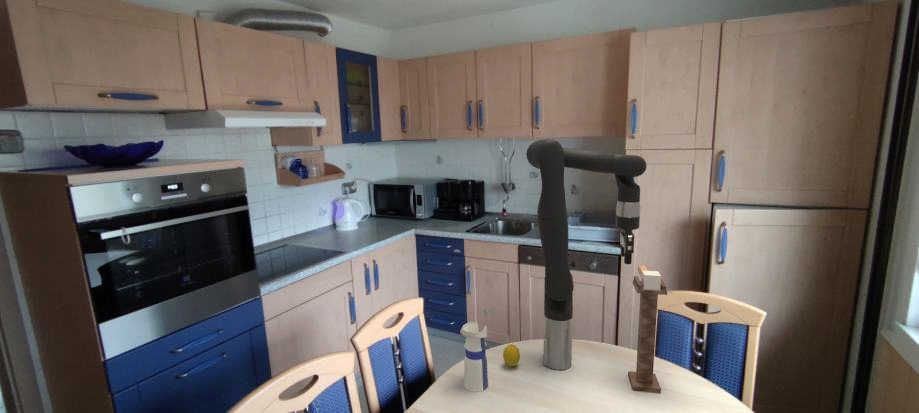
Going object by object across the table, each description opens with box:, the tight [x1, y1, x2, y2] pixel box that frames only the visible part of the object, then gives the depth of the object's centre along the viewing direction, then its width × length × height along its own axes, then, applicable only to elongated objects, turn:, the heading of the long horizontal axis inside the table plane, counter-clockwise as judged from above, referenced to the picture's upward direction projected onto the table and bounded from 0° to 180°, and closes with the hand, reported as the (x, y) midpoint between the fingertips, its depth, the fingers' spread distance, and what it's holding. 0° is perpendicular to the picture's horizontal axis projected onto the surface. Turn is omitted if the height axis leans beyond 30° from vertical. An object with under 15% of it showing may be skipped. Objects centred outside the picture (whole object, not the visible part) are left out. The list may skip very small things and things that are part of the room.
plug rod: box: [637, 264, 662, 291], centre depth 129 cm, size 4×16×4 cm, turn 167°
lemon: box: [502, 343, 521, 368], centre depth 142 cm, size 6×6×8 cm
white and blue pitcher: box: [460, 306, 490, 393], centre depth 131 cm, size 8×9×25 cm
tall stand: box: [627, 275, 668, 394], centre depth 128 cm, size 8×8×33 cm
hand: (625, 260), depth 147 cm, fingers open, 8 cm apart
